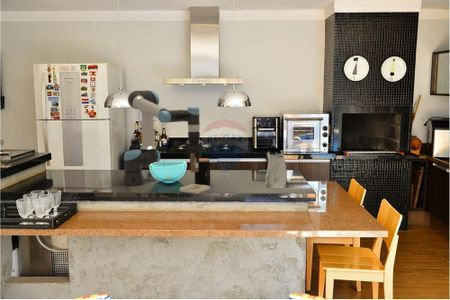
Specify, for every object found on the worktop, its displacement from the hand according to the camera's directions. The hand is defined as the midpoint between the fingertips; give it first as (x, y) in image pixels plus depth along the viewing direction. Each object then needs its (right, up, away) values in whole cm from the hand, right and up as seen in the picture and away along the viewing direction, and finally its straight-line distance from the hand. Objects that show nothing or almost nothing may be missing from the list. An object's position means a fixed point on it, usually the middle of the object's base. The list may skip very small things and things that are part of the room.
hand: (194, 167), depth 284 cm
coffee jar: (+4, -13, +18) cm, 23 cm away
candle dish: (0, -15, +2) cm, 15 cm away
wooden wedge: (0, -3, 0) cm, 3 cm away
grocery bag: (+55, -12, +25) cm, 61 cm away
